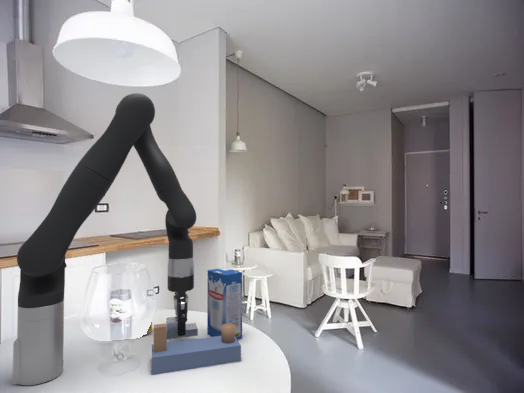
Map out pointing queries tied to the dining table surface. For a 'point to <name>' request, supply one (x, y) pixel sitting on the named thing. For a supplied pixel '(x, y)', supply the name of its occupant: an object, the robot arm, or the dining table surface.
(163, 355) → the hand plane
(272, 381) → the dining table surface
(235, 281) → the milk carton
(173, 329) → the lever cap
